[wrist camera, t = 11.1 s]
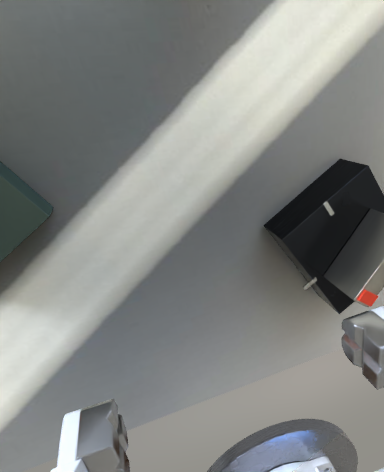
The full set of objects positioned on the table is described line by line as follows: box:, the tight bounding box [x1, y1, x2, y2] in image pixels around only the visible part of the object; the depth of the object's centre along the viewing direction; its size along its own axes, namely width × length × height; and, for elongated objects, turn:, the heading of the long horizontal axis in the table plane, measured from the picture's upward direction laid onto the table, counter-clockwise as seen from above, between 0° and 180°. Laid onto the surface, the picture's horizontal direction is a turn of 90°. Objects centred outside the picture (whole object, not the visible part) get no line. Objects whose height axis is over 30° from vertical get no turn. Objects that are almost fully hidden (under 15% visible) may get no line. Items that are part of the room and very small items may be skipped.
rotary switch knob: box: [324, 209, 384, 307], centre depth 27 cm, size 7×2×4 cm, turn 150°
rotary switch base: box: [264, 159, 384, 314], centre depth 30 cm, size 11×11×4 cm
